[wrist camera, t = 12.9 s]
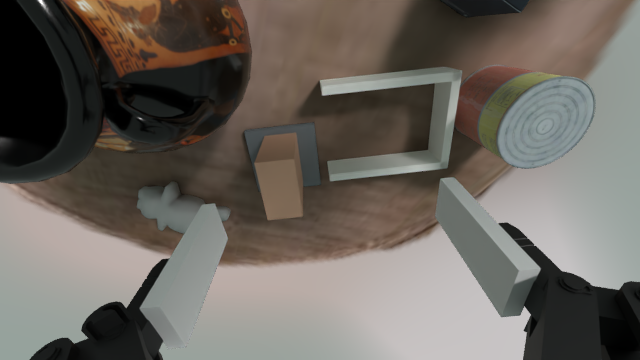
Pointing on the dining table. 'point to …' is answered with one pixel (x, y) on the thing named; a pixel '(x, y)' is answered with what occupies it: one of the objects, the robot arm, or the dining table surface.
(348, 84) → the slot rack
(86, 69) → the amphora vase
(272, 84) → the dining table surface
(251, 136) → the slate mat
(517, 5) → the small box
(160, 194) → the bunny figurine
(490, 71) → the canned food
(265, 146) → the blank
